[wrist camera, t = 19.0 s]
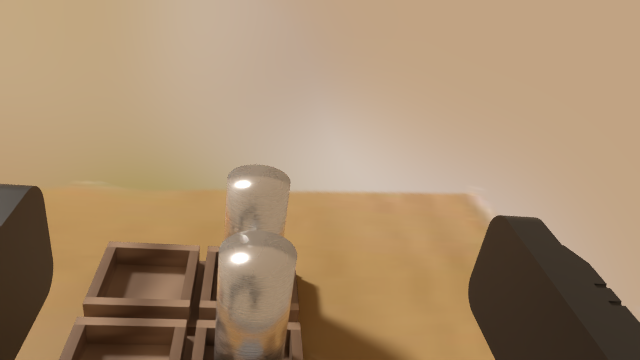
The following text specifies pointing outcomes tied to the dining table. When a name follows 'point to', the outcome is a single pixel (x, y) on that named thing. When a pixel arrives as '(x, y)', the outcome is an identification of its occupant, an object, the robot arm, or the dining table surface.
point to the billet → (256, 200)
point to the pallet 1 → (159, 284)
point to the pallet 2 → (153, 340)
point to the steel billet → (253, 296)
